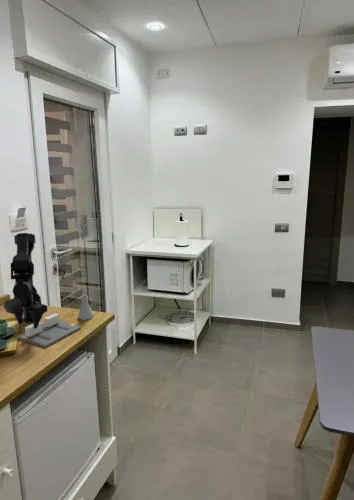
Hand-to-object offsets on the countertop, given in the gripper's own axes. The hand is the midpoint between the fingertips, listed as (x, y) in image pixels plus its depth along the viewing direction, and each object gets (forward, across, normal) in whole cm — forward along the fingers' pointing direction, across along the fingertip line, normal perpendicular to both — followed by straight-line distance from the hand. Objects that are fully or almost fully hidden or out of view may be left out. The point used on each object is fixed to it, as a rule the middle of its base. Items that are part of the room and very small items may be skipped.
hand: (27, 326), depth 148 cm
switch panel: (+4, +7, +5) cm, 9 cm away
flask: (+4, +8, +25) cm, 26 cm away
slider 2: (+3, +3, +10) cm, 11 cm away
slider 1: (+3, +3, 0) cm, 4 cm away
